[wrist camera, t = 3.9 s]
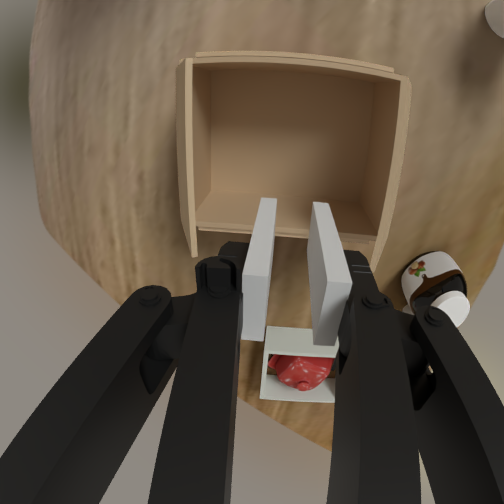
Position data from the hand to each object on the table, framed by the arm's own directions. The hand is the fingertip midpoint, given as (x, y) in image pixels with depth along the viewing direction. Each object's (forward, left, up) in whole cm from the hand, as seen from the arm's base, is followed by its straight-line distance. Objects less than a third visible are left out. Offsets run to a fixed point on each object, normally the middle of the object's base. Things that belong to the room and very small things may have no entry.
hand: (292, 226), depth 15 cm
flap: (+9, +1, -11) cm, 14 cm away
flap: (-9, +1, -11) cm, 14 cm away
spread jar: (+25, -20, -27) cm, 42 cm away
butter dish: (+6, -40, -27) cm, 49 cm away
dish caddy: (+7, -40, -26) cm, 48 cm away
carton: (0, +1, -26) cm, 26 cm away
